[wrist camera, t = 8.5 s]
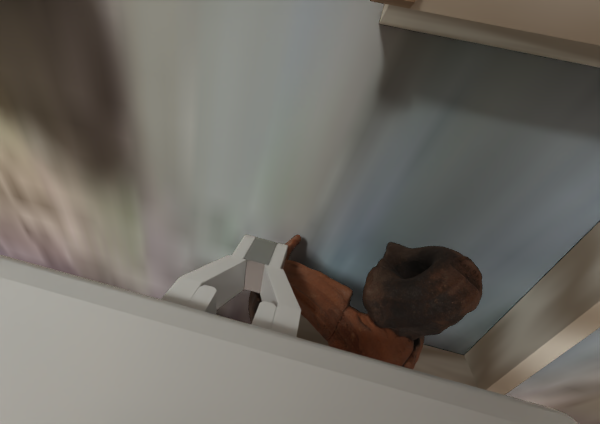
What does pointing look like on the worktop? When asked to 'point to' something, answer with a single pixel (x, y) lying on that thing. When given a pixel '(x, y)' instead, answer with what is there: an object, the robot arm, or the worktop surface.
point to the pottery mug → (387, 301)
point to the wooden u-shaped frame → (581, 258)
